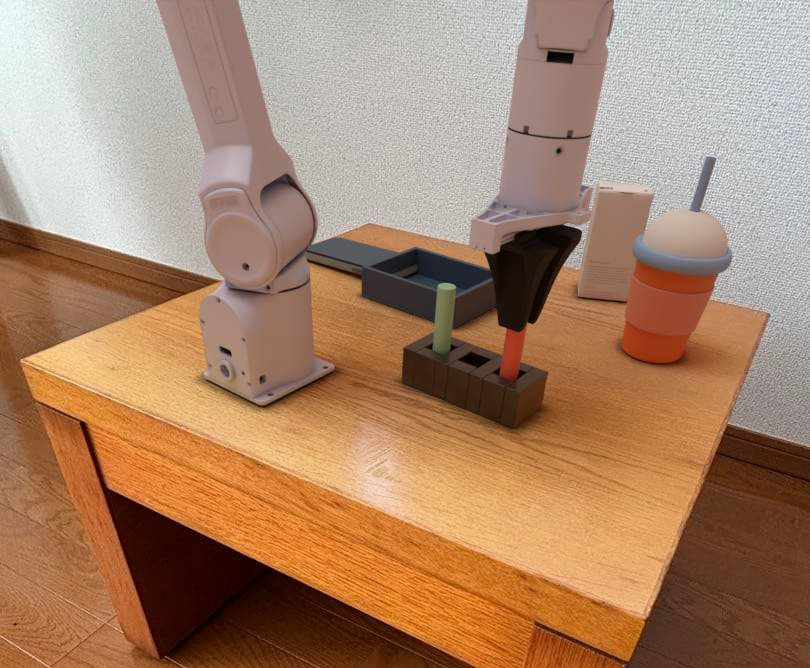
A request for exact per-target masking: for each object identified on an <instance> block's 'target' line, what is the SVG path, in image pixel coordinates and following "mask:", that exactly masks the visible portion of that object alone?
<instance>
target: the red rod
mask: <svg viewBox="0 0 810 668" xmlns="http://www.w3.org/2000/svg"><path fill="white" fill-rule="evenodd" d="M528 324H529V323H528V321H527V324H526V326H525V328H524V330H522V331H521V332H516V331H513V330H510V329H507V328H505V336H504V341H503V348H502V349H503V350H502V354H501V355H502V361H501V367H500V374H499V376H501V377H503V378H506V379H509V380H511V381H513V382H514V381H515V380H517V379H518V373H519V367H520V362H522V355H523V350H524V344H525V340H526V338H525V337H526V333H527V327H528Z"/></svg>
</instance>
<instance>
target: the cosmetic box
mask: <svg viewBox="0 0 810 668" xmlns="http://www.w3.org/2000/svg"><path fill="white" fill-rule="evenodd" d="M652 189H653V188H651V186H650V185H647V184H635V183H622V182H610V181H600V180H599V181H597V182H596V188H595V192H594V197H593V202H592V208H591V211H592V213H591V217H590V220H589V222H588V228H587V233H586V238H585V242H584V248H583V253H582V257H581V264H580V268H579V272H578V273H579V274H578V278H577V284H576V285H577V297H579V298H586V299H596V300H605V301H606V300H607V301H614V302H615V301H617V302H627V300H628V294H629V289H630V283H631V277H632V273H633V271H634V270H635V266H636V261H637V259H636V258H635V257H634V255H633V252H632V248H633V244H634V242H635V240H636V239H637V237H638V236H640V235H641V234H644V233H645V232H646V229H647V224H648V219H649V215H650V211H651V208H652V204H653V200H654V196H655V194H654V191H653V190H652Z"/></svg>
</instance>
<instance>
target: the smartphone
mask: <svg viewBox="0 0 810 668" xmlns="http://www.w3.org/2000/svg"><path fill="white" fill-rule="evenodd" d="M397 253H400V252H398V251H395V250H390V249H387V248H383V247H379V246H375V245H372V244H368V243H364V242H359V241H356V240H353V239H348V238H344V237H340V236H339V237H331V238H328V239H325V240H322V241H319V242H315V243H312V245H311V246H310V247H309V248H308V249H307V250H306V260H307V261H311V262H314V263H318V264H322V265H325V266H328V267H332V268H336V269H338V270H343V271H346V272H348V273H353V274H356V275H360V276H362V266H365V265H368V264H370V263H373V262H376V261H378V260H381V259H384V258H386V257H389V256H392V255H394V254H397ZM416 271H417V263H416V262H413V263H411V264H408V265H406V266H403V267H401V268H398V269H396V270H394V271H391V272H390V273H389V274H392V275H395V276H399V277H402V278H403V277H405V276H408V275H410V274H412V273H415V272H416Z"/></svg>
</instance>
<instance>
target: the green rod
mask: <svg viewBox="0 0 810 668" xmlns="http://www.w3.org/2000/svg"><path fill="white" fill-rule="evenodd" d="M455 295H456V286H455V285H453V284H450V283H442V284H439V285H438V287H437V300H436V313H435V322H434V327H433V332H434V338H433V351H435V352H438V353H441V354H443V355H446V354H447V353H449V352H450V346H451V337H453V336H452V334H453V328H452V326H453V316H454V305H455Z"/></svg>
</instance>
